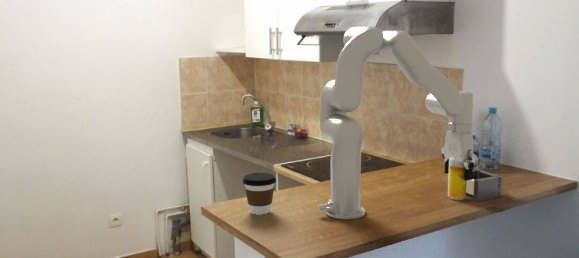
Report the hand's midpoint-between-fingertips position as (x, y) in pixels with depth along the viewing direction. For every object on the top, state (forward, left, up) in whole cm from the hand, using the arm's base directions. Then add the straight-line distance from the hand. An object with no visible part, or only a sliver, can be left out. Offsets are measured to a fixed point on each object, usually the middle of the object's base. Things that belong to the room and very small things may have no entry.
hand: (458, 176), depth 192 cm
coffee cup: (-66, +18, -8) cm, 69 cm away
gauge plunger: (+7, +1, -7) cm, 10 cm away
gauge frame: (+9, 0, -8) cm, 11 cm away
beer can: (0, 0, -8) cm, 8 cm away
